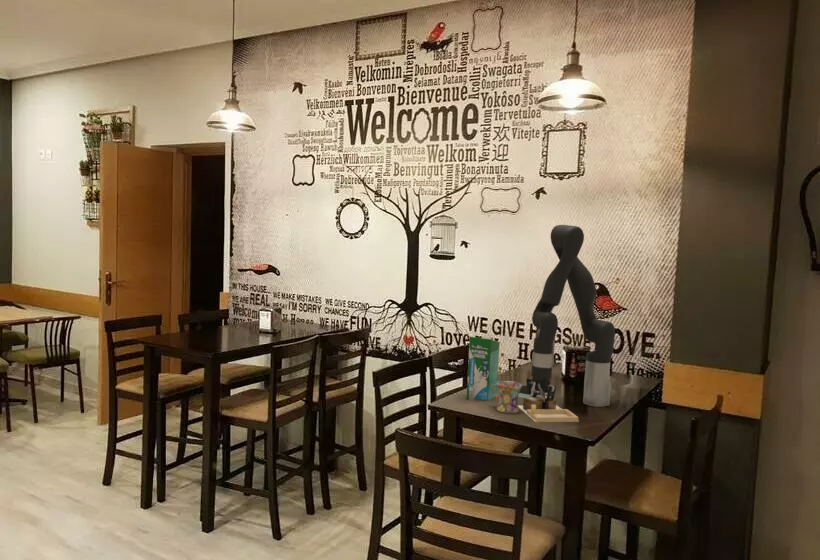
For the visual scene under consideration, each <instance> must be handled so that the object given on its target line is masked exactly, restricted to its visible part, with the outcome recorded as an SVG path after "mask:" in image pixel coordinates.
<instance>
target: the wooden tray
mask: <svg viewBox="0 0 820 560" xmlns="http://www.w3.org/2000/svg"><path fill="white" fill-rule="evenodd" d="M518 407H519V410H520V411H522V412H523V413H525V414H526V415H527V416H528V417H529V418H530V419H531V420H533V421H534V422H535V423H568V422H569V423H572V422H573V423H577V422H578V423H579V422H580V420H579V417H578V416H577V415H576V414H574V413H573V412H572V411H570V410H569V409H568V408H561V407H560V406H559V405H558V404H556V409H536V405H531V409H527V410H524V409H523V405H519V404H518Z"/></svg>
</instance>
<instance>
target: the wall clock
mask: <svg viewBox="0 0 820 560" xmlns="http://www.w3.org/2000/svg"><path fill="white" fill-rule="evenodd" d="M530 391H531V388H530ZM543 393H546V392H543ZM538 396H541V394H540V392H539V393H538V395H537V397H538ZM545 396H546V395H545ZM550 397H551V396H550ZM518 398H519V399H524V398H530V395H529V394H527V385H522V387H521V389H520V392H519V395H518Z"/></svg>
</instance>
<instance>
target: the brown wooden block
mask: <svg viewBox="0 0 820 560" xmlns="http://www.w3.org/2000/svg"><path fill="white" fill-rule="evenodd" d="M545 398H546V396H545ZM550 398H551V397H550ZM522 401H523V403H522V404H523V409H524V410H527V409H531V405H536V409H542V403H543V399H542V396H538V397H530V398H523V400H522ZM556 405H557V399H556V398H554V400H553V401H550V402H549V407H548V409H556Z"/></svg>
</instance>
